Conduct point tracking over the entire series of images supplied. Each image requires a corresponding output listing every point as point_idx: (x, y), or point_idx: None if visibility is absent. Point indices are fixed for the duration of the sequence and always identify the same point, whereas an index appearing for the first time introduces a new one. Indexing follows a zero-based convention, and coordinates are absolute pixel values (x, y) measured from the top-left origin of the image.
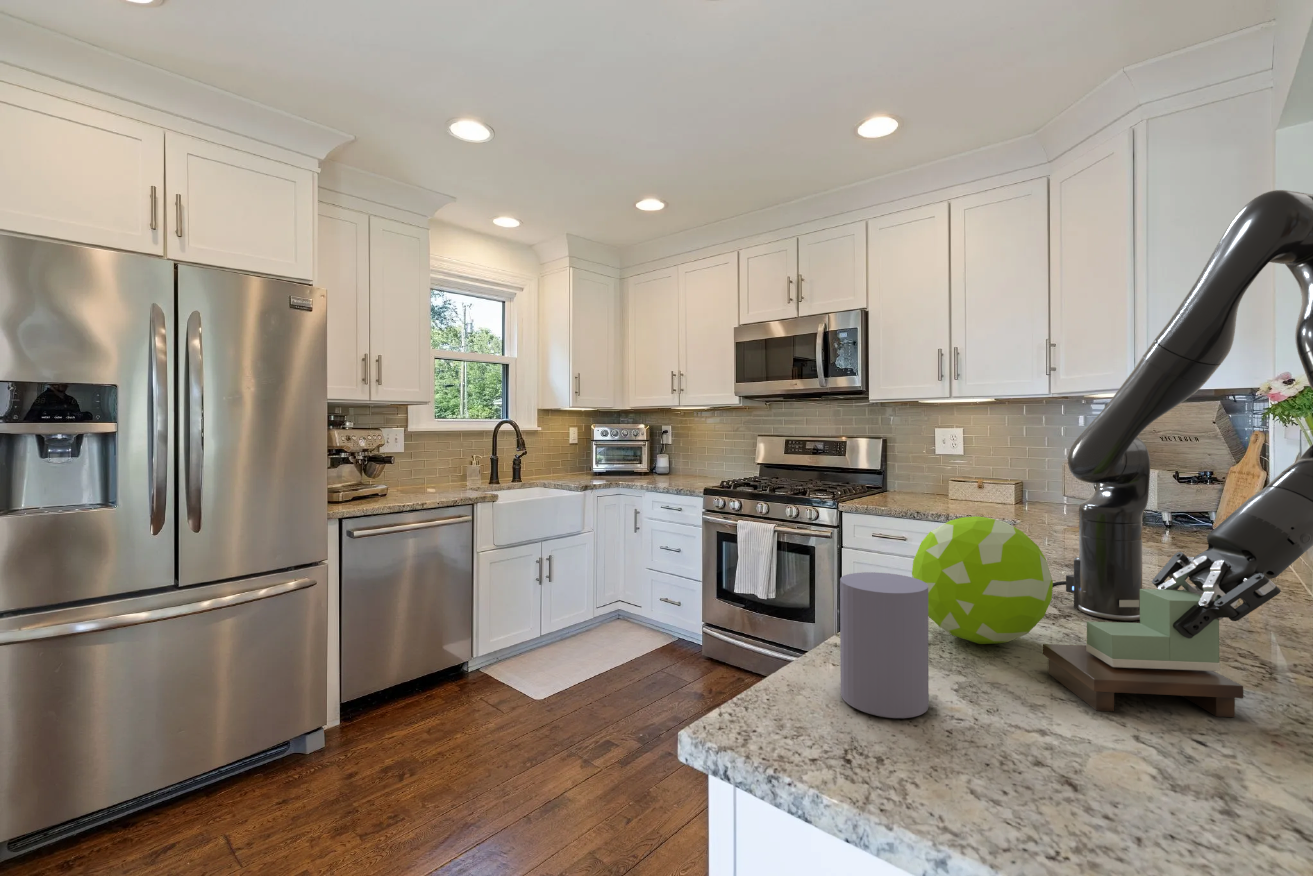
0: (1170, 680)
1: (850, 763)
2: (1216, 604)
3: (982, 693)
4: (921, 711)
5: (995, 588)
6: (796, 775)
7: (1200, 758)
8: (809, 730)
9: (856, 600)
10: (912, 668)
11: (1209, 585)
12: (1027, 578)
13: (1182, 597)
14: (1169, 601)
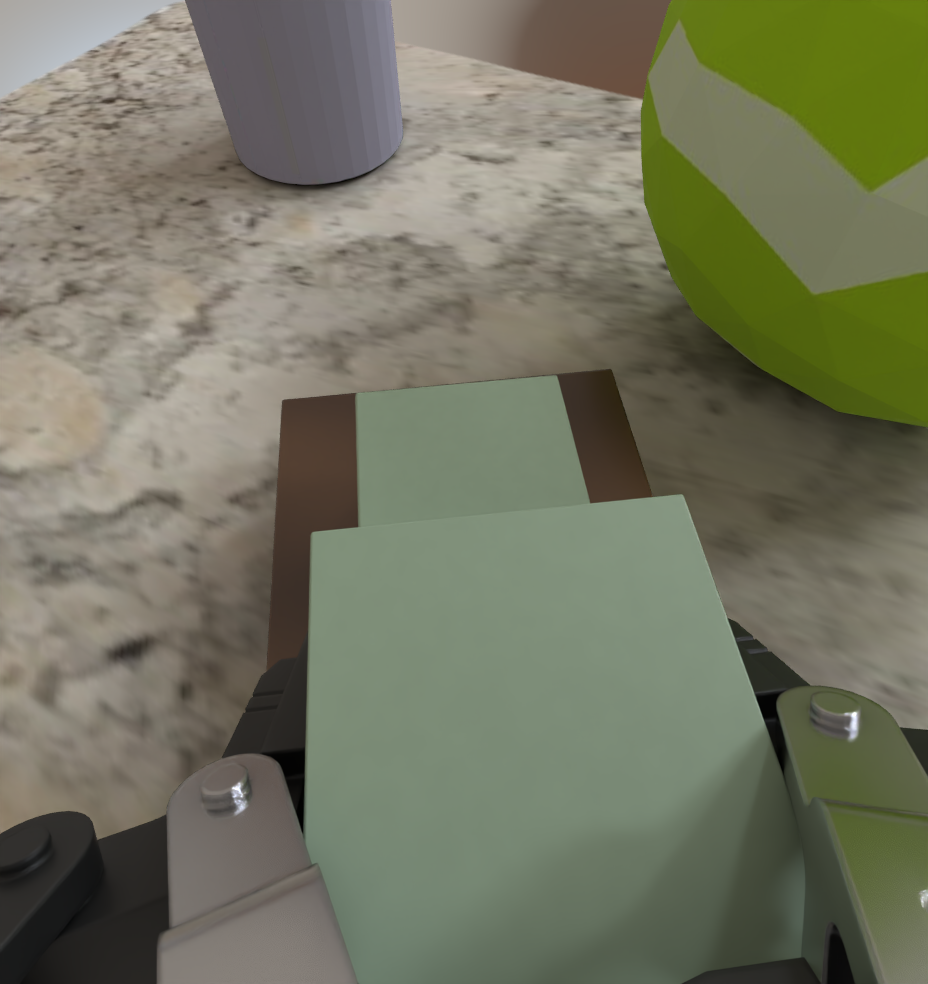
0: (289, 634)
1: (101, 102)
2: (54, 824)
3: (392, 277)
4: (251, 166)
5: (666, 71)
6: (78, 64)
7: (47, 597)
8: (202, 72)
9: None
10: (204, 50)
11: (215, 921)
12: (775, 102)
13: (431, 698)
14: (318, 538)
